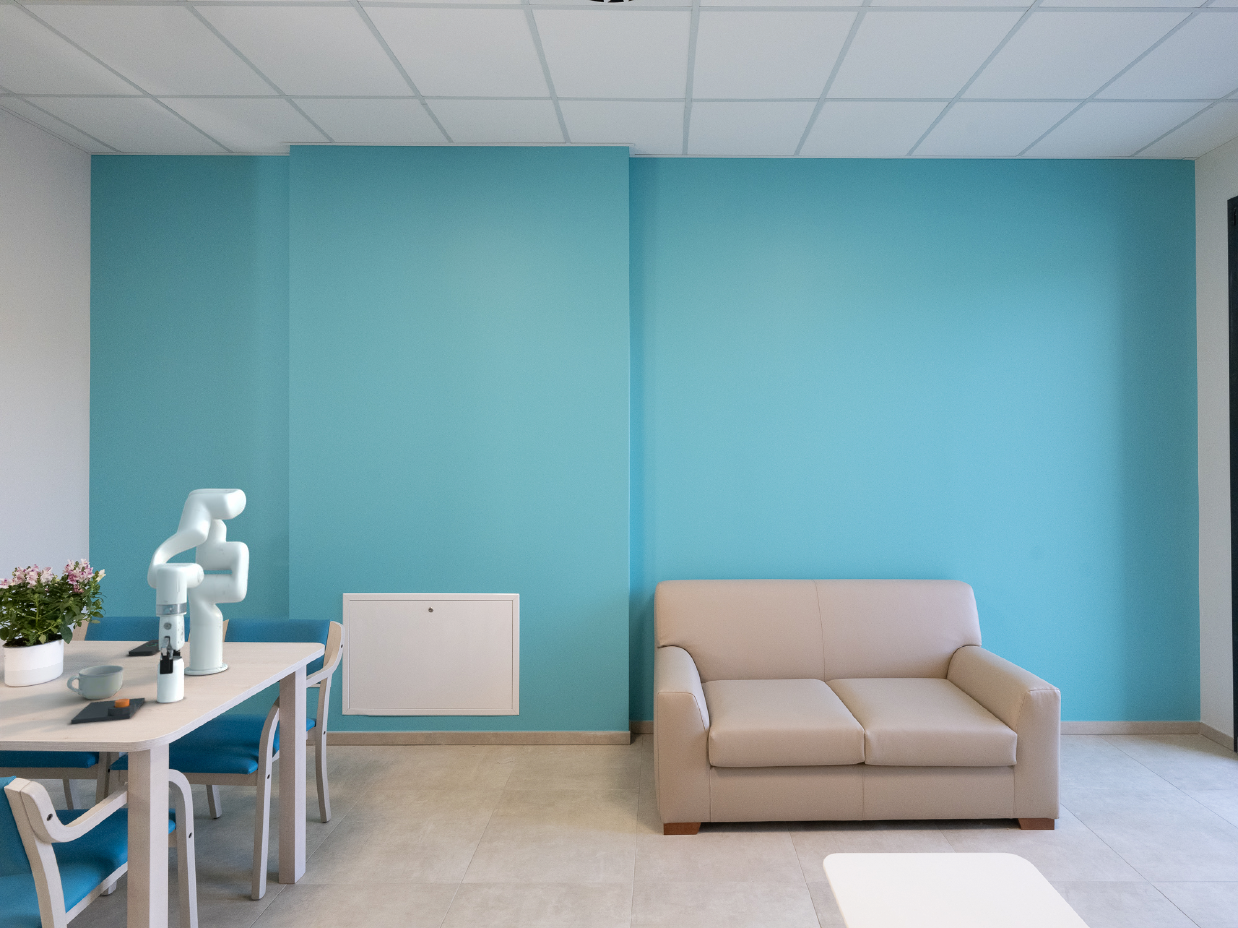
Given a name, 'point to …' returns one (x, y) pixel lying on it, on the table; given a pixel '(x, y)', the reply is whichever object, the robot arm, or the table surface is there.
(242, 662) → the table surface
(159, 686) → the can
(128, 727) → the table surface
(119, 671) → the teacup
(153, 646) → the smart home device
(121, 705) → the button
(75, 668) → the table surface
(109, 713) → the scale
